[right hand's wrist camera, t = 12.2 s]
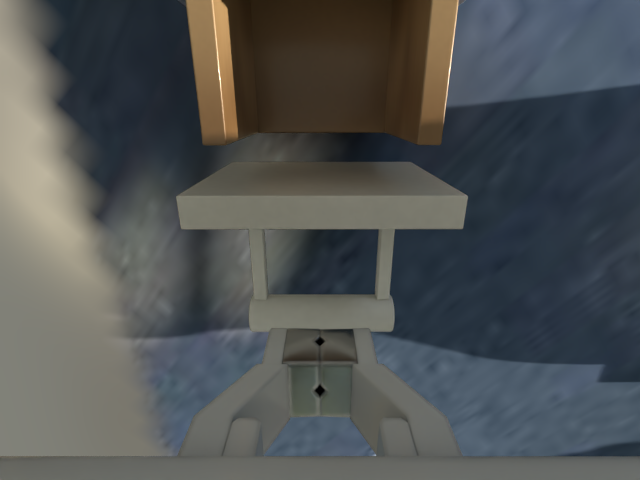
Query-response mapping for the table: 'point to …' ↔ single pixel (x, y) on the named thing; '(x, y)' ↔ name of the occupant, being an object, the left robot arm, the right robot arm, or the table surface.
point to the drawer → (322, 117)
